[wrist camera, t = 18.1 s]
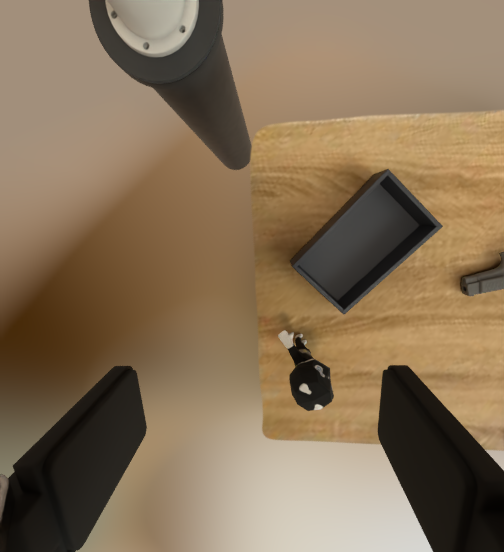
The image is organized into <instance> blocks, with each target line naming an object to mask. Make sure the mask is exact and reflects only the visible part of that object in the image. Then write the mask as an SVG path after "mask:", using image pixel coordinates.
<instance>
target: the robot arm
mask: <svg viewBox="0 0 504 552" xmlns="http://www.w3.org/2000/svg"><path fill="white" fill-rule="evenodd" d="M105 2H106V8H107V12H108V15H109V18H110V20H111V23H112V25H113V27H114V28H115V30H116V32H117V33H118V35H119V36H120V37H121V38H122V40H123V41H124V42H125V43H126V44H127V45H128V46H129V47H130V48H131V49H133V50H134V51H136V52H138V53H139V54H142V55H145V56H148V57H164V56H167V55H170V54H172V53H174V52H176V51H177V50H179V49H180V48H181V47H182V46H183V45H184V44H185V43H186V41H187V40H188V39H189V37H190V36H191V34H192V32H193V30H194V28H195V24H196V21H197V18H198V10H199V0H105ZM146 428H147V427H146V421H145V415H144V410H143V404H142V400H141V394H140V388H139V383H138V378H137V373H136V371H135V370H133V368H132V367H131V366H115V367H113V368H112V369H111V370H110V371H109V372H108V373H107V374H106V375H105V376H104V377H103V378H102V379H101V380H100V381H99V382H98V383H97V384H96V385H95V386H94V387H93V388H92V389H91V390H90V391H89V392H88V393H87V394H86V395H85V396H84V397H82V399H80V400H79V401H78V402H77V403H76V404H75V405H74V406H73V407H72V408H71V409H70V410H69V411H68V412H67V413H66V414H65V415H64V416H63V417H62V418H61V419H60V420H59V421H58V422H57V423H56V424H55V425H54V426H53V427H52V428H51V429H50V430H49V431H48V432H47V433H46V434H45V435H44V436H43V437H42V438H41V439H40V440H39V441H38V442H37V443H36V444H35V445H33V446H32V447H31V449H29V451H27V452H26V453H25V454H24V455H23V456H22V457H21V458H20V459H19V460H18V461H17V462H16V463H15V464H14V465H13V468H14V471H15V472H14V473H13V474H12V475H11V476H10V477H9V478H7V477H6V476H5V475H1V474H0V552H75V551H76V550H79V549H80V548H81V547H82V546H83V545H84V543H85V542H86V540H87V538H88V536H89V534H90V533H91V531H92V529H93V527H94V526H95V524H96V522H97V520H98V518H99V517H100V515H101V513H102V511H103V509H104V507H105V506H106V504H107V502H108V501H109V499H110V497H111V495H112V494H113V492H114V490H115V488H116V486H117V485H118V483H119V481H120V479H121V478H122V476H123V474H124V472H125V470H126V469H127V467H128V465H129V463H130V462H131V460H132V458H133V456H134V454H135V453H136V451H137V449H138V447H139V446H140V444H141V442H142V440H143V438H144V436H145V434H146ZM378 436H379V440H380V443H381V445H382V447H383V449H384V451H385V453H386V455H387V457H388V459H389V461H390V463H391V465H392V467H393V469H394V472H395V474H396V476H397V477H398V480H399V482H400V484H401V486H402V488H403V490H404V492H405V494H406V496H407V498H408V500H409V503H410V505H411V507H412V509H413V511H414V513H415V515H416V517H417V519H418V521H419V523H420V525H421V527H422V529H423V532H424V534H425V536H426V538H427V540H428V542H429V544H430V546H431V548H432V550H433V552H504V471H503V470H502V468H501V467H500V466H499V465H498V464H497V463H496V462H495V461H494V460H493V458H492V457H491V456H490V455H489V454H488V453H487V452H486V451H485V450H484V449H483V448H482V446H481V445H480V444H479V443H478V442H477V441H476V440H475V439H474V438H473V437H472V435H471V434H470V433H469V432H468V431H467V430H466V429H465V428H464V427H463V426H462V424H461V423H460V422H459V421H458V420H457V419H456V418H455V417H454V416H453V415H452V413H451V412H450V411H449V410H448V409H447V408H446V407H445V406H444V405H443V404H442V403H441V402H440V401H439V400H438V398H437V397H436V396H435V395H434V394H433V393H432V392H431V391H430V390H429V389H428V387H427V386H426V385H425V384H424V383H423V382H422V381H421V380H420V379H419V378H418V376H417V375H416V374H415V373H414V372H413V371H412V370H411V369H410V368H409V367H408V366H406V365H390V366H389V367H388V369H387V370H384V371H383V377H382V388H381V399H380V411H379V422H378Z"/></svg>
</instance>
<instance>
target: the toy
mask: <svg viewBox="0 0 504 552" xmlns="http://www.w3.org/2000/svg"><path fill="white" fill-rule="evenodd" d="M293 336H294V332H292V333H290V334H289V333H288V332H287V331H286V330H284V331H283V332H281V333H280V334H279V335H278V337H279V338H280V340H281V341H282V343H283V344H284V345H285V347H286V348H287V349H288V350H289V353H290V355H291V357H292V359H293V360H294V363H295V366H296V367H295V369H294V370H293V371H292V373H291V374H290V385H291V391H292V395H293V397H294V398H295V400H296V402H297V404H298V405H300V406H301V407H303V408H304V409H306V410H307V411H310V410H320V409H322V408H323V407H325V406H326V405H328V404H329V403H330V402H332V399H333V397H334V395H333V391H332V386H331V381H330V368H329V367H327V366H325V365H324V364H322V363H320V362H319V361H317V360H315V359H314V358H313V357H312V356H311V352H310V350H309V349H307V348H306V347H305V344H306V343H307V341H306V339H305V340H302V341H301V338H302V337H303V335H302V333H300V334H298V335H296V336H295V343H296V346H295V345H294V344H293V341H292V338H293Z"/></svg>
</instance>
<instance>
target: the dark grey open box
mask: <svg viewBox="0 0 504 552" xmlns="http://www.w3.org/2000/svg"><path fill="white" fill-rule="evenodd" d="M442 227H443V226H442V225H441V224H440V223H439V222H438V221H437V220H436V219H435V218H434V217H433V216H432V215H431V214H430V212H429V211H428V210H427V209H426V208H425V207H424V206H423V205H422V204H421V203H420V202H419V201H418V200H417V199H416V198H415V197H414V196H413V195H412V194H411V193H410V191H409V190H408V189H407V188H406V187H405V186H404V185H403V184H402V183H401V182H400V181H399V180H398V179H397V178H396V177H395V176H394V175H393V174H392V173H391V172H390V170H389V169H387V170H384V171H382V172H379V173H376V174H374V175H373V176H372V177H371V178H370V179H369V180H368V181H367V182H366V183H365V184H364V185H363V186H362V187H361V188H360V189H359V190H358V191H357V193H356V194H355V195H354V196H353V197H352V198H351V199H350V200H349V201H348V202H347V203H346V204H345V205H344V206H343V207H342V208H341V209H340V210H339V211H338V212H337V213H336V214H335V215H334V216H333V217H332V218H331V219H330V220H329V221H328V222H327V223H326V224H325V225H324V226H323V227H322V228H321V229H320V230H319V231H318V232H317V234H316V235H315V236H314V237H313V238H312V239H311V240H310V241H309V242H308V243H307V244H306V245H305V246H304V247H303V248H302V249H301V250H300V251H299V252H298V253H297V254H296V255H295V256H294V257H293V258H292V259H291V260H290V263H291V265H292V267H293V268H294V269H295V270H296V271H297V272H298V273H299V274H300V275H302V276H303V277H304V278H305V279H306V280H307V281H308V282H309V283H310V284H311V285H312V286H313V287H315V288H316V289H317V290H318V291H319V292H320V293H321V294H322V295H323V296H324V297H325V298H326V299H327V300H329V301H330V302H331V303H332V304H333V305H334V306H335V307H336V308H337V309H338V310H339V311H340V312H342V313H343V314H345V313H346V312H348V311H349V310H350V309H351V308H352V307H353V306H354V305H355V304H357V303H358V302H359V301H360V300H361V299H362V298H363V297H364V296H365V295H367V294H368V293H369V292H370V291H371V290H372V289H373V288H374V287H376V286H377V285H378V284H379V283H380V282H381V281H382V280H383V279H385V278H386V277H387V276H388V275H389V274H390V273H391V272H392V271H393V270H395V269H396V268H397V267H398V266H399V265H400V264H401V263H402V262H404V261H405V260H406V259H407V258H408V257H409V256H410V255H411V254H413V253H414V252H415V251H416V250H417V249H418V248H419V247H420V246H421V245H423V244H424V243H425V242H426V241H427V240H428V239H429V238H430V237H432V236H433V235H434V234H435V233H436V232H437V231H438V230H439V229H440V228H442Z"/></svg>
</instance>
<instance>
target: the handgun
mask: <svg viewBox="0 0 504 552" xmlns="http://www.w3.org/2000/svg"><path fill="white" fill-rule="evenodd" d="M499 254H500V256H501V263H500V265H499V266H498V267H497V268H496V269H492V270H489V271H485V272H481V273H478V274H474V275H471V276H466V277H462V282H461V286H462V293H463V294H466V295H468V296H474V295H475V294H481V293H486V292H491V291H496V290H501V289H504V252H501V253H499Z"/></svg>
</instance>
